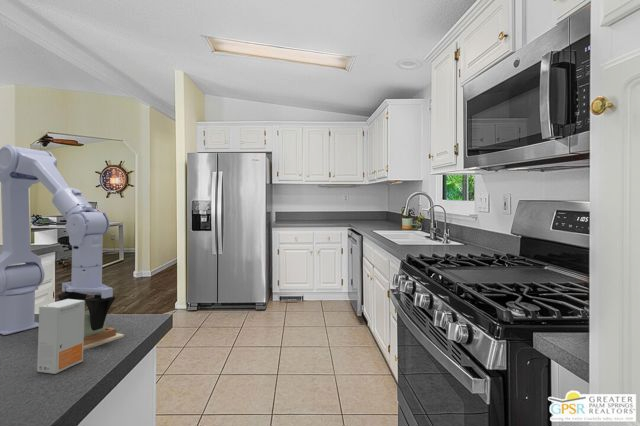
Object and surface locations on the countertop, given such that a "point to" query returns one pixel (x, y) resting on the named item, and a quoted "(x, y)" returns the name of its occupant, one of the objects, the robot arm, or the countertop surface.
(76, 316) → the skincare box
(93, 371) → the countertop surface
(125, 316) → the countertop surface
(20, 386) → the countertop surface
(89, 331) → the chute block
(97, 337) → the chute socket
